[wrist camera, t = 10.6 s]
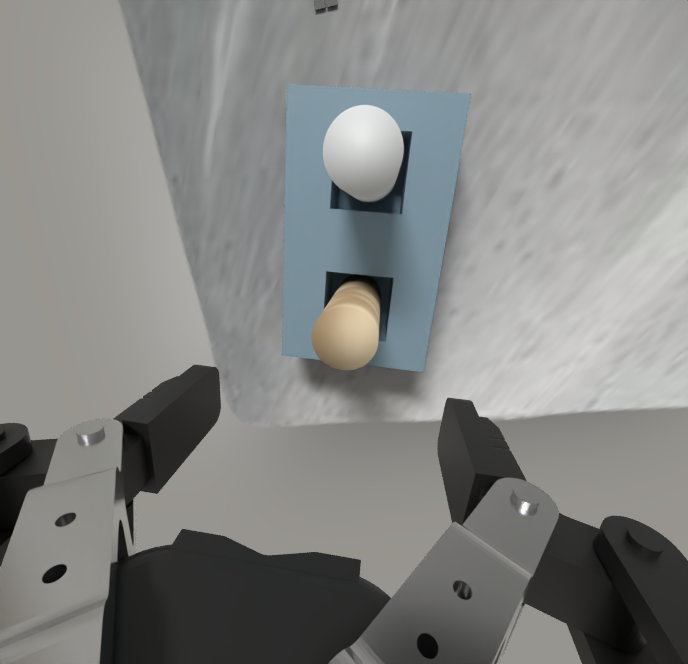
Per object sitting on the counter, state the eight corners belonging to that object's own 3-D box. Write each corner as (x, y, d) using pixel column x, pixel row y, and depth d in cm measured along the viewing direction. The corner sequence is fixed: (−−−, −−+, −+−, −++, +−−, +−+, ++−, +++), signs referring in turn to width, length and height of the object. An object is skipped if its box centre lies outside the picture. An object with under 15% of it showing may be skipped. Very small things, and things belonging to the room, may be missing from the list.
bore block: (454, 117, 24) (515, 31, 13) (417, 348, 30) (436, 425, 19) (304, 108, 25) (240, 21, 14) (297, 334, 31) (247, 401, 20)
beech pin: (383, 276, 28) (382, 310, 17) (378, 318, 29) (374, 374, 18) (339, 271, 28) (313, 303, 18) (336, 313, 29) (309, 366, 19)
